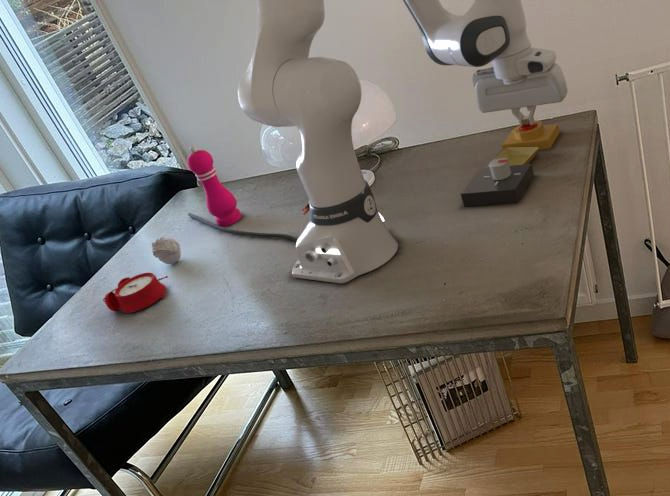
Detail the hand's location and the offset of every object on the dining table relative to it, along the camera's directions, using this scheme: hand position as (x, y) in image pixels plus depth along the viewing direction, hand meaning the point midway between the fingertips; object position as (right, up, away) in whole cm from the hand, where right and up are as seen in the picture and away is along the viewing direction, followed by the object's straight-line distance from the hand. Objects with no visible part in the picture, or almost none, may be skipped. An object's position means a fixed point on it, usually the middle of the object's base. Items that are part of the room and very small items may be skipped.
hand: (527, 125), depth 168 cm
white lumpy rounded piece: (-82, -30, +7) cm, 88 cm away
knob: (-7, -15, -14) cm, 22 cm away
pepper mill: (-72, -18, +19) cm, 77 cm away
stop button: (0, -1, +1) cm, 2 cm away
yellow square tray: (-3, -10, -4) cm, 12 cm away
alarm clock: (-86, -40, -4) cm, 95 cm away
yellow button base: (+1, -3, +2) cm, 4 cm away
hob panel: (-7, -18, -13) cm, 23 cm away
